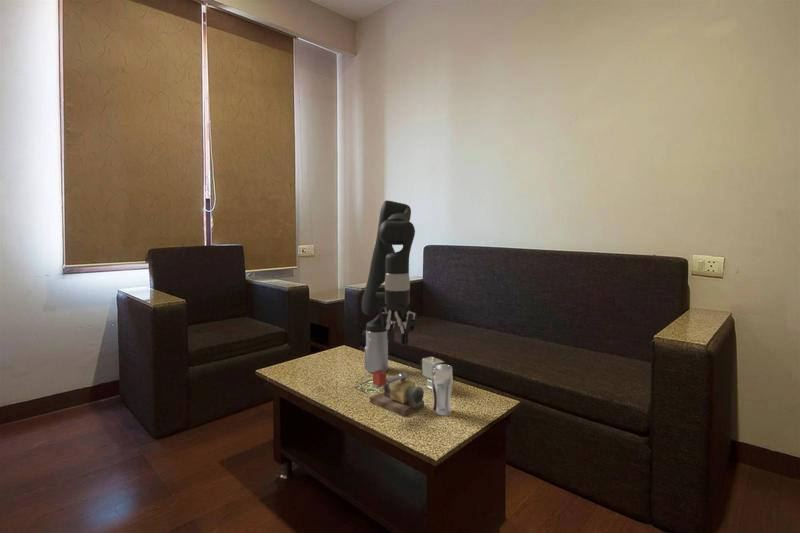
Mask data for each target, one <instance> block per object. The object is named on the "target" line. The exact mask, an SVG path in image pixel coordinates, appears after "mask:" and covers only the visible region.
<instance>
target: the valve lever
mask: <svg viewBox="0 0 800 533" xmlns="http://www.w3.org/2000/svg"><path fill="white" fill-rule="evenodd" d="M389 377H390V378H388V377H387V371H385V372H384V371H381V370H378V371H375V372H373V373H372V388H375V389H379V388H383V386H385V385H387V384H390V383H393V382H395V381H398V380H400V379H408V373H407V372H399V373H398V374H395V375H393V376H389Z"/></svg>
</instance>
